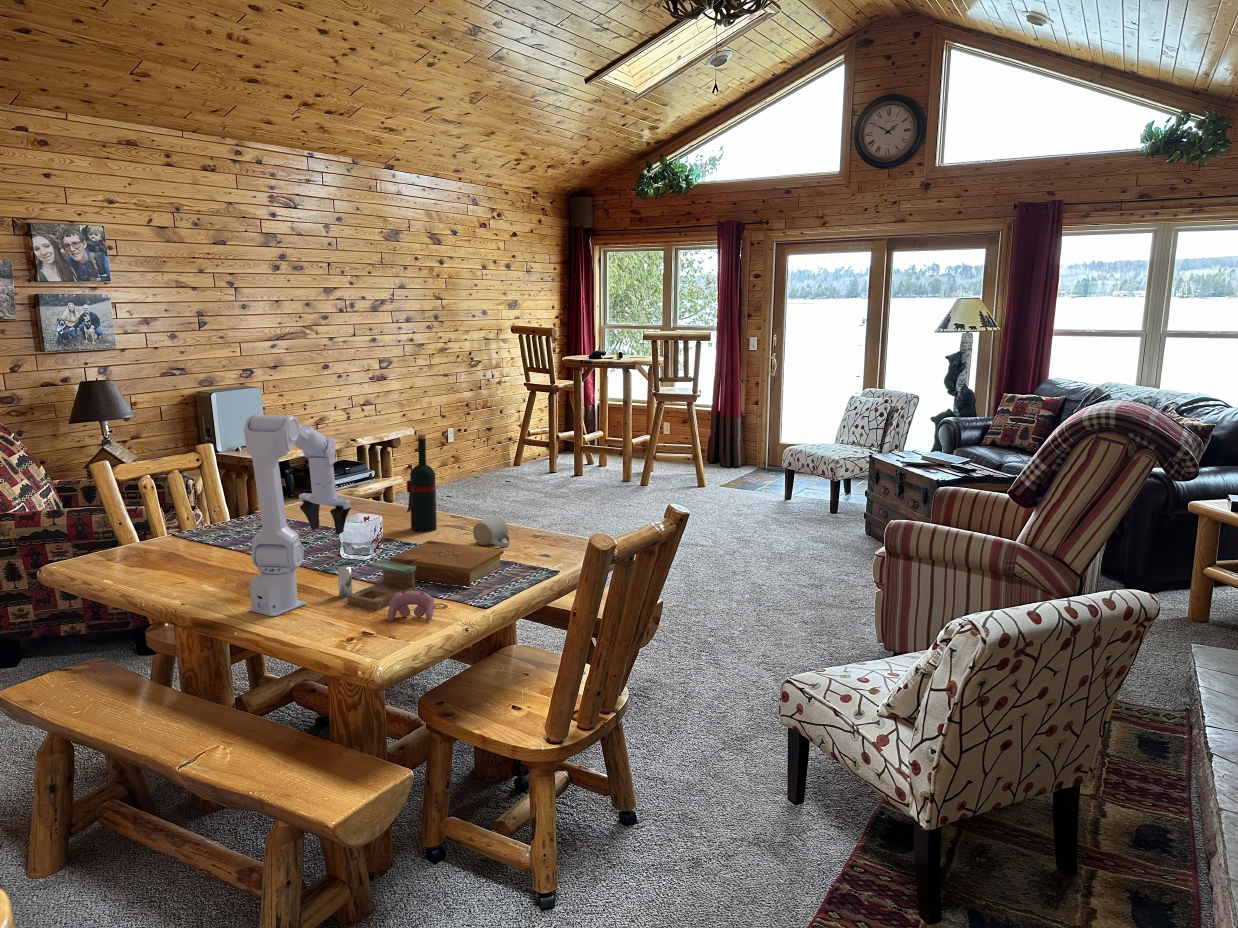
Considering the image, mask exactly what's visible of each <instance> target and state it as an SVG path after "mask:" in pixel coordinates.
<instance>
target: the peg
mask: <svg viewBox="0 0 1238 928" xmlns="http://www.w3.org/2000/svg"><path fill="white" fill-rule="evenodd" d="M337 570H338V571H337V574H338V575H337V578H338V597H339V598H343V599H344V598H345V599H347V595H350V594H352V593H353V578H352V566H351V565H340V566H338V567H337Z"/></svg>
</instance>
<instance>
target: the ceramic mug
mask: <svg viewBox="0 0 1238 928" xmlns="http://www.w3.org/2000/svg"><path fill="white" fill-rule="evenodd" d="M508 532H509V529H508V524H507V522H506V521H505V520H504V519H503V518H502V517H501V516H499V515H493V516H490V517H488V518H485V519H483V520H480V521H479V522H477V523H476V524H475V525H474V527H473V529H472V534H473V535H472V536H473V538H474V541H475V542H476V543H477V544H479V545H481V546H490V545H494V546H496V547H499V548H506V547H505V546H507V547H509V545H510V543H511V538H510V535H508ZM504 540H506V541H507V542H502V541H504Z"/></svg>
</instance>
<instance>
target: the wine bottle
mask: <svg viewBox="0 0 1238 928" xmlns="http://www.w3.org/2000/svg"><path fill="white" fill-rule="evenodd" d="M417 436H418V437H417V438H418V439H417V440H418V441H417V443H418V446H417V447H418V464H417V465H416V466H414V467H413V468H412V469H411V471H410V473H409V480H407V481H406V492H407V493H408V494H409V495H408V507H407V510H406V513H405V514H407V513H410V530H411V531H412V532H414V533H421V534H422V533H430V532H435V531H436V530H437V529H438V527H437V493H436V472H435V470H434V469H433V468H432V467H431V466H430V465H429V464H427V450H426V448H427V447H426V446H427V443H426V434H422V433H421V434H417Z"/></svg>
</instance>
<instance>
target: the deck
mask: <svg viewBox="0 0 1238 928" xmlns="http://www.w3.org/2000/svg"><path fill="white" fill-rule="evenodd" d="M372 568H373V569H377V570H382V578H383V579H382V580H383V581H380V582H377V583H376V584H373V585H370V586H368V587H365V588H362V589H360V590H358V591H356V592H352V594H350V595H347V598H346V599H347V600H346V601H347V602H346V603H347V605H352V606H354V607H361V608H364V609H368V610H373V611H379V610H382V609H384V608H387V607H388V606H390V603H391V600H392V598H393V597H394V596H395V595H396V594H398V593H403V592H407V591H416V581H415V570H416V566H411V565H406V564H401V563H396V562H391V561H390V560H385V559H384V560H381V561H378V562H376V563H373V564H372Z"/></svg>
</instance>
